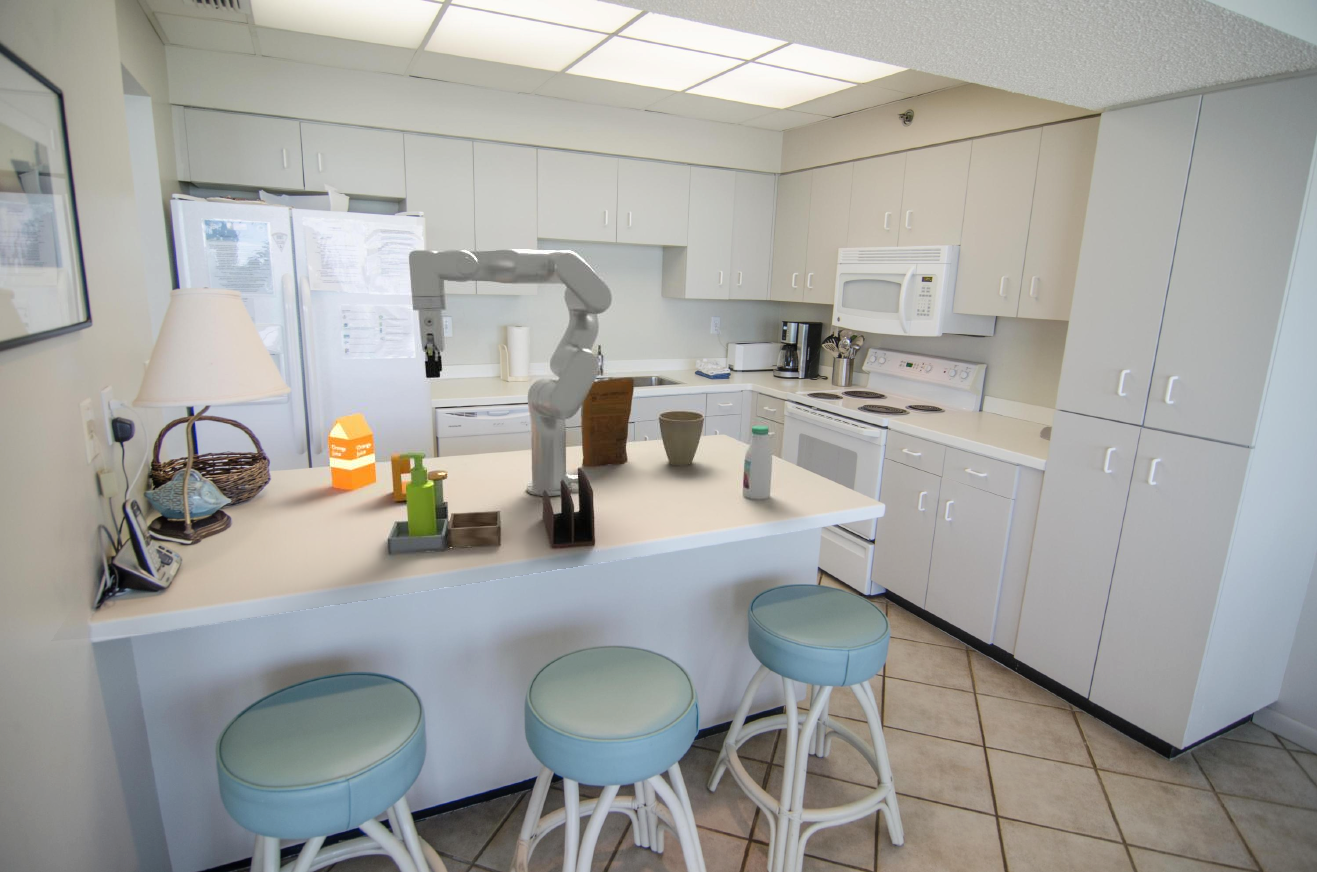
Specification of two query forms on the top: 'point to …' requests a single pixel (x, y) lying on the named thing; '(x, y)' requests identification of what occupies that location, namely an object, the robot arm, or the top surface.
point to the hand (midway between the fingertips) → (434, 374)
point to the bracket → (399, 476)
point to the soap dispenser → (420, 499)
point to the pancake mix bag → (606, 422)
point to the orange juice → (351, 453)
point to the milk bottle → (758, 465)
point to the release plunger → (438, 485)
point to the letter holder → (571, 517)
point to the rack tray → (417, 539)
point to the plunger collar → (442, 512)
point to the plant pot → (681, 435)
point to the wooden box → (474, 529)
